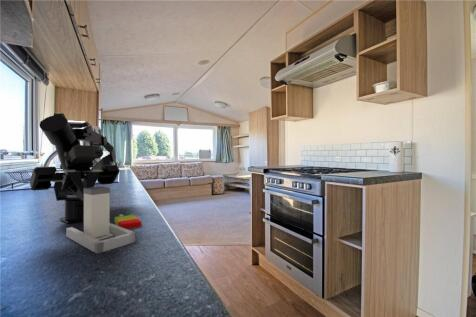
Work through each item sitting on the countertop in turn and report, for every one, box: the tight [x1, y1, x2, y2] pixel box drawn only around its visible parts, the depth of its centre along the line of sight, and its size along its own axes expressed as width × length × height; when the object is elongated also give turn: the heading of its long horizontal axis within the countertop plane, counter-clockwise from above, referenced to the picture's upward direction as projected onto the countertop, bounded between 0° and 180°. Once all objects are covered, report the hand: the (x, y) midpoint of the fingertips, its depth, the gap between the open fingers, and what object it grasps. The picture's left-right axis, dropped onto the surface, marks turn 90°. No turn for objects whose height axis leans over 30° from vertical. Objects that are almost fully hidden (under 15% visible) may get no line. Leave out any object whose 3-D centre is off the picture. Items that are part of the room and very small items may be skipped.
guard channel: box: [65, 222, 137, 255], centre depth 55 cm, size 16×8×2 cm, turn 55°
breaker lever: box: [83, 186, 111, 238], centre depth 56 cm, size 4×4×11 cm
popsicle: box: [113, 213, 142, 230], centre depth 69 cm, size 6×15×2 cm, turn 38°
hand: (88, 201), depth 57 cm, fingers closed
